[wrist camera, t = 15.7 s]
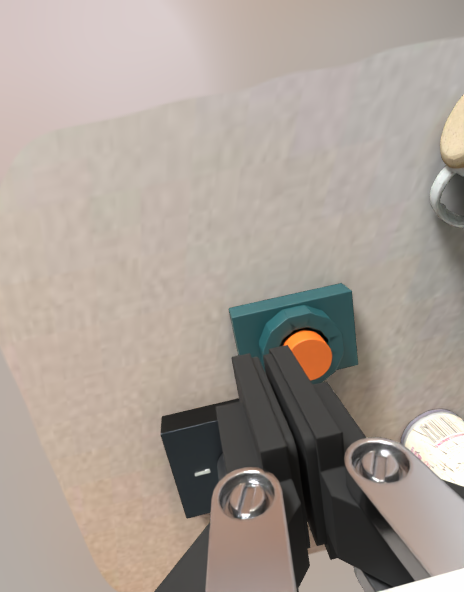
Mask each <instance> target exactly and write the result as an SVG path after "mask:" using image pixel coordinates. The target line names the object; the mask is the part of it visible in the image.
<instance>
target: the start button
mask: <svg viewBox="0 0 464 592" xmlns="http://www.w3.org/2000/svg"><path fill="white" fill-rule="evenodd" d="M284 345H288V346H289V348H290V349H291V351H292V353H293V354H294V356H295V357H296V359H297V360H298V362H299V364H300V365H301V367H302V368H303V370H304V372H305V373H306V375H307V376H308V378H309V380H310V381H311V380H315V379H317V378H319V377H321V376H322V375H324V374H325V373H326V372H327V370H328V369H329V367H330V365H331V362H332V352H331V349H330V347H329V346H328V345H327V343H326V342H325V341H324V340H323V338H322V337H321V336H320V335H319V334H318V333H316V332H314V331H311V330H300V331H297V332H294V333H293V334H291V335H290V336H289V337H288V338H287V339H286V340H285V341H284V343H283V345H282V346H284Z"/></svg>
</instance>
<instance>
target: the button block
mask: <svg viewBox="0 0 464 592" xmlns="http://www.w3.org/2000/svg"><path fill="white" fill-rule="evenodd" d="M229 313H230V318H231V323H232V327H233V332H234V337H235V342H236V347H237V352H238V356H239V355H244V354H248V353H250V355H251V357H252V358H253V357H257V356H258V357H259V360H260V362H261V364H262V367H263V369H264V371H265V366H264V360H263V355H266V354H269V349H271V348H275V347H280V346H282V345H283V343H284V341H285V340H286V339H287V338H288V337H289V336H290V335H291V334H293V333H294V332H297V331H300V330H311V331H314V332H316V333H318V334H319V335H320V336H321V337H322V338H323V340H324V341H325V342H326V343H327V345H328V346H329V347H330V349H331V352H332V362H331V365H330V367H329V369H328V370H327V372H326V373H325V374H324V375H322V376H321V377H319V378H317V379H315V380H311V383H312V384H317V383H322V382H323V381H324V380H325V379H327V378H328V377H329V376H330V375H332V374H333V373H334V372H335V371H336V370H338V369H342V368H347V367H351V366H355V365H358V357H357V346H356V334H355V322H354V311H353V299H352V291H351V290H350V289H349V288H347V287H346V286H345V285H343V284H342V283H340V284H335V285H331V286H326V287H322V288H317V289H313V290H308V291H304V292H299V293H295V294H290V295H286V296H281V297H277V298H272V299H268V300H263V301H259V302H254V303H250V304H245V305H241V306H236V307H232V308H229Z"/></svg>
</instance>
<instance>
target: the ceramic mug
mask: <svg viewBox="0 0 464 592" xmlns="http://www.w3.org/2000/svg"><path fill="white" fill-rule="evenodd" d="M440 153H441V157H442V160H443V161H444V163H445V164H446V166H445V167H444V168H443V170H442V171H441V172H440V173H439V174H438V176H437V177H436V179H435V181H434V184H433V185H432V188H431V191H430V203H431V206H432V208H433V210H434V211H435V213H436V214H437V216H438V217H439V218H440V219H441V220H442V221H444V222H445V223H447V224H449V225H451V226H454V227H458V228H464V216H461V215H459V216H458V215H457V214H455V213H453V212H451V211H449V210H448V209H446V206H445V205H444V204H441V203H440V198H441V195H442V192H443V190H444V189H445V187H446V185H447V183H448V182H449V181H450V180H451V178H452V177H453V176H454V175H455V174H459V175H461V176H463V177H464V95H463V96H462V97H461V98H460V100H459V101H458V102H457V104H456V105H455V107H454V109H453V110H452V112H451V114H450V115H449V117H448V119H447V121H446V124H445V126H444V129H443V132H442V135H441V141H440Z"/></svg>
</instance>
